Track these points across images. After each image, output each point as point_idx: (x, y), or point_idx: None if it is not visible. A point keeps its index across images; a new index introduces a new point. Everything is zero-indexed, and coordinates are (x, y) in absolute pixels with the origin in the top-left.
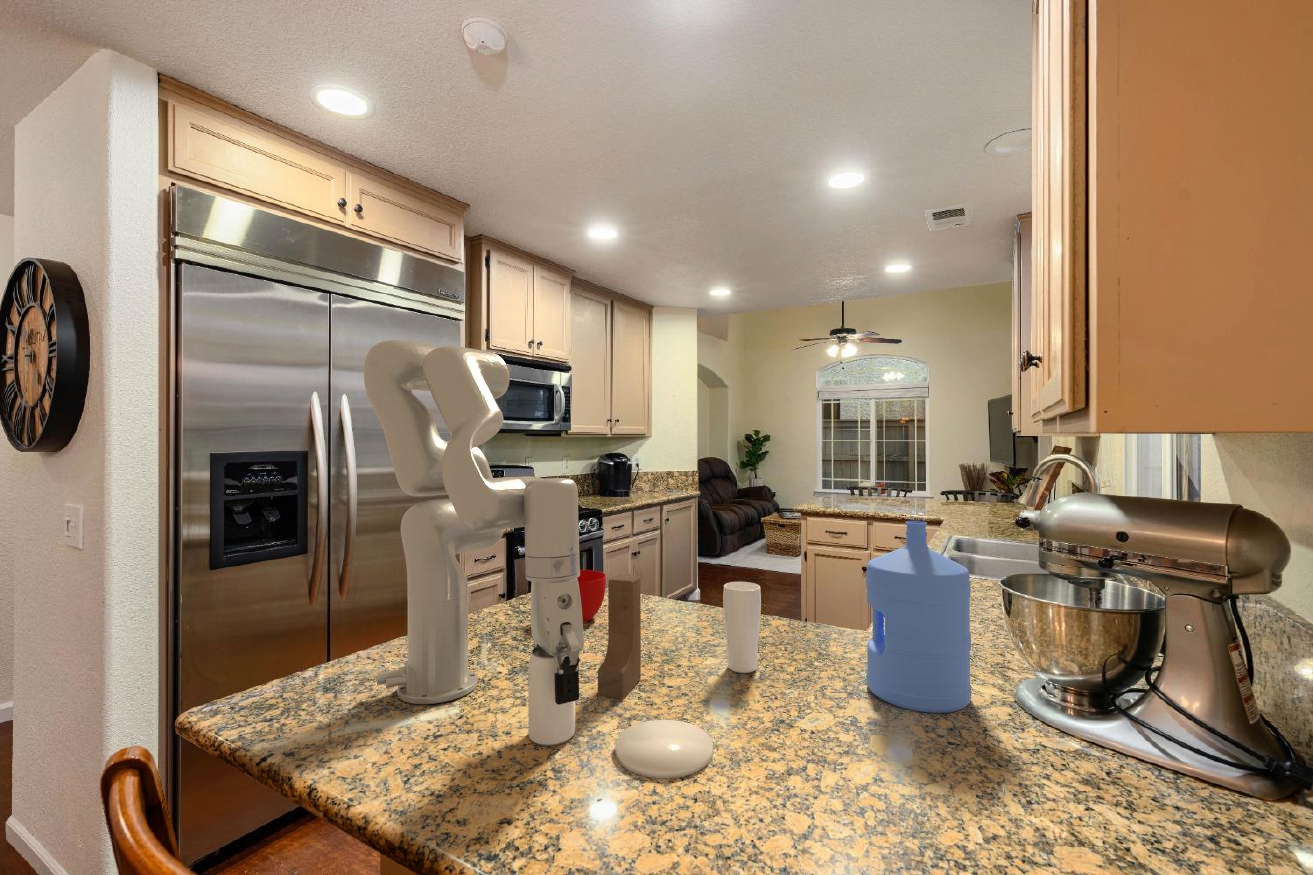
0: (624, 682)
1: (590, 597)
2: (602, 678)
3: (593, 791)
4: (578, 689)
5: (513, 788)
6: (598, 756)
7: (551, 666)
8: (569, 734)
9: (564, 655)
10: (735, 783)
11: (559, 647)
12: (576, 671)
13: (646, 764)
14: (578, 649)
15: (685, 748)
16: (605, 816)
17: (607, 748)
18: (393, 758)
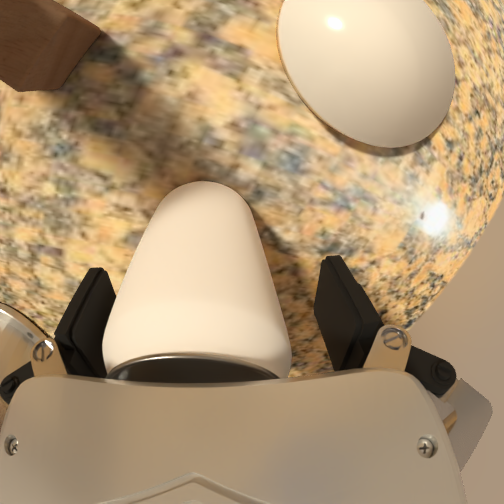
0: (79, 17)
1: None
2: (42, 77)
3: (406, 216)
4: (349, 273)
5: None
6: (332, 168)
7: None
8: (248, 207)
9: None
10: (474, 49)
11: (134, 372)
12: (391, 330)
13: (425, 124)
14: (485, 404)
15: (415, 36)
16: (444, 221)
17: (315, 138)
18: None
